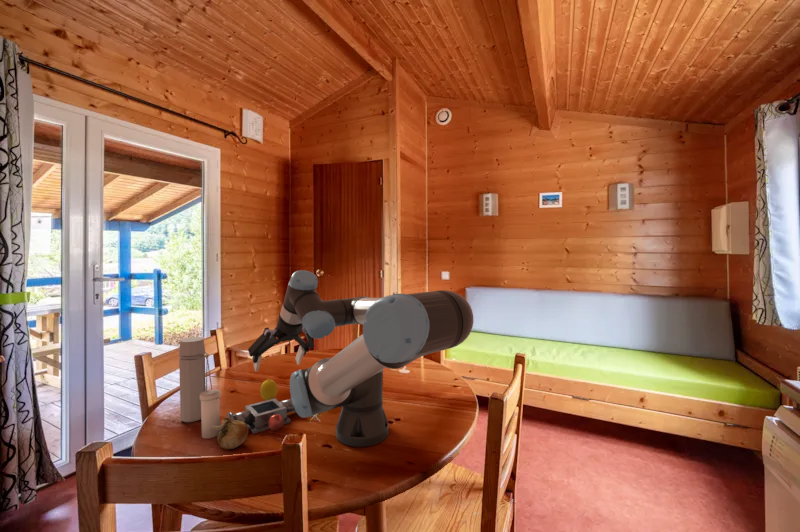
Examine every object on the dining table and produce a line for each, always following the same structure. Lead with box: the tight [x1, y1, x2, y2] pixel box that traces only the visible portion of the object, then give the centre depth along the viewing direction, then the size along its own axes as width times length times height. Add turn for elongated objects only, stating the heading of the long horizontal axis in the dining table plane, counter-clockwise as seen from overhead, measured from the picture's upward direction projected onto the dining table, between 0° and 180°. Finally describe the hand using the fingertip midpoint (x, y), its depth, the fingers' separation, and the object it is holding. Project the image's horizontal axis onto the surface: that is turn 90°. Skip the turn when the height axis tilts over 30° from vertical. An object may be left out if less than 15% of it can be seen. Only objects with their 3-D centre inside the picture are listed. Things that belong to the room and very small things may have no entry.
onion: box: [212, 417, 249, 450], centre depth 98 cm, size 8×8×8 cm
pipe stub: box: [200, 389, 221, 439], centre depth 104 cm, size 5×5×12 cm
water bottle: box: [177, 336, 213, 423], centre depth 114 cm, size 9×8×25 cm
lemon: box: [259, 378, 278, 401], centre depth 127 cm, size 6×6×8 cm
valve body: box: [226, 397, 297, 435], centre depth 111 cm, size 14×21×6 cm
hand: (277, 364), depth 118 cm, fingers open, 13 cm apart
